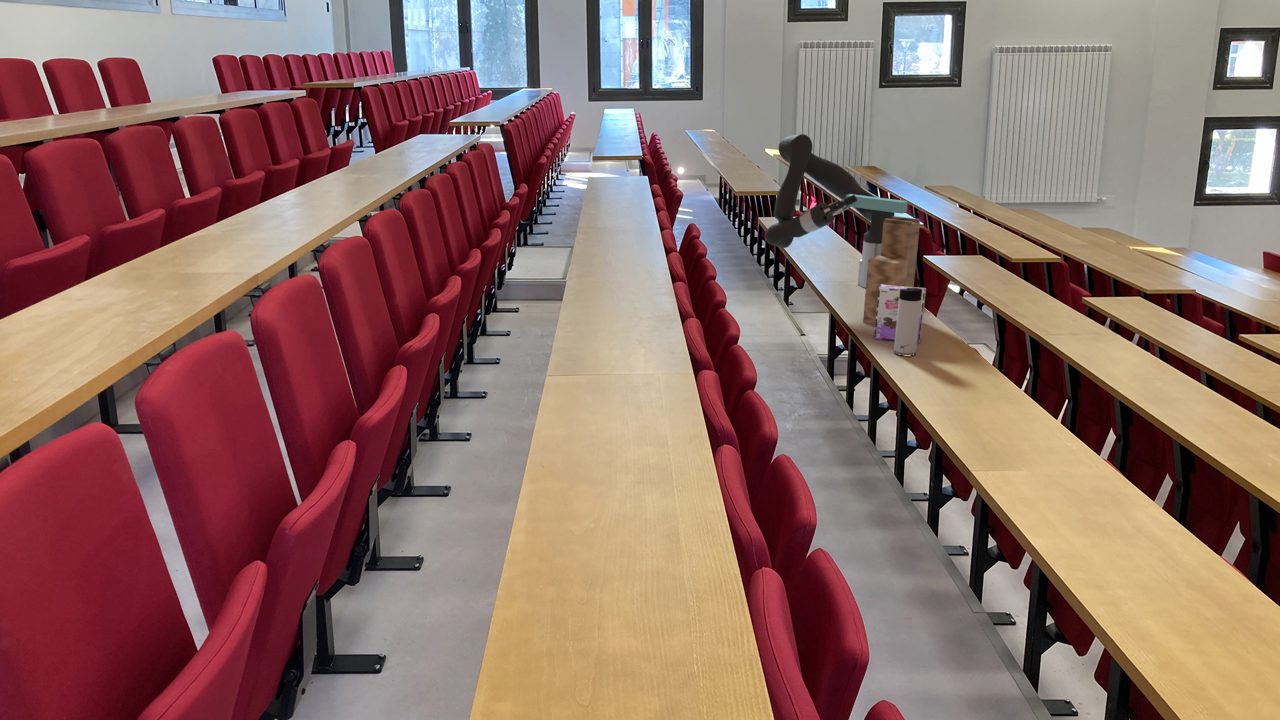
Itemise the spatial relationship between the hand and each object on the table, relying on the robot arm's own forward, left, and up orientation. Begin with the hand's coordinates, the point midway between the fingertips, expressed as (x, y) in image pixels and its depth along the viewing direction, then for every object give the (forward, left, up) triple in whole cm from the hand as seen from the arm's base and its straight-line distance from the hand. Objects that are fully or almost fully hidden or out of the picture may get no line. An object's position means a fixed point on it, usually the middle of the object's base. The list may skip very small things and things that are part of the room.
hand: (858, 197), depth 299 cm
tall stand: (+13, +7, -39) cm, 42 cm away
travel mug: (+41, -22, -39) cm, 61 cm away
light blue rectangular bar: (+6, +2, -3) cm, 7 cm away
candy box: (+30, -12, -39) cm, 51 cm away
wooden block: (+15, -1, -39) cm, 42 cm away
